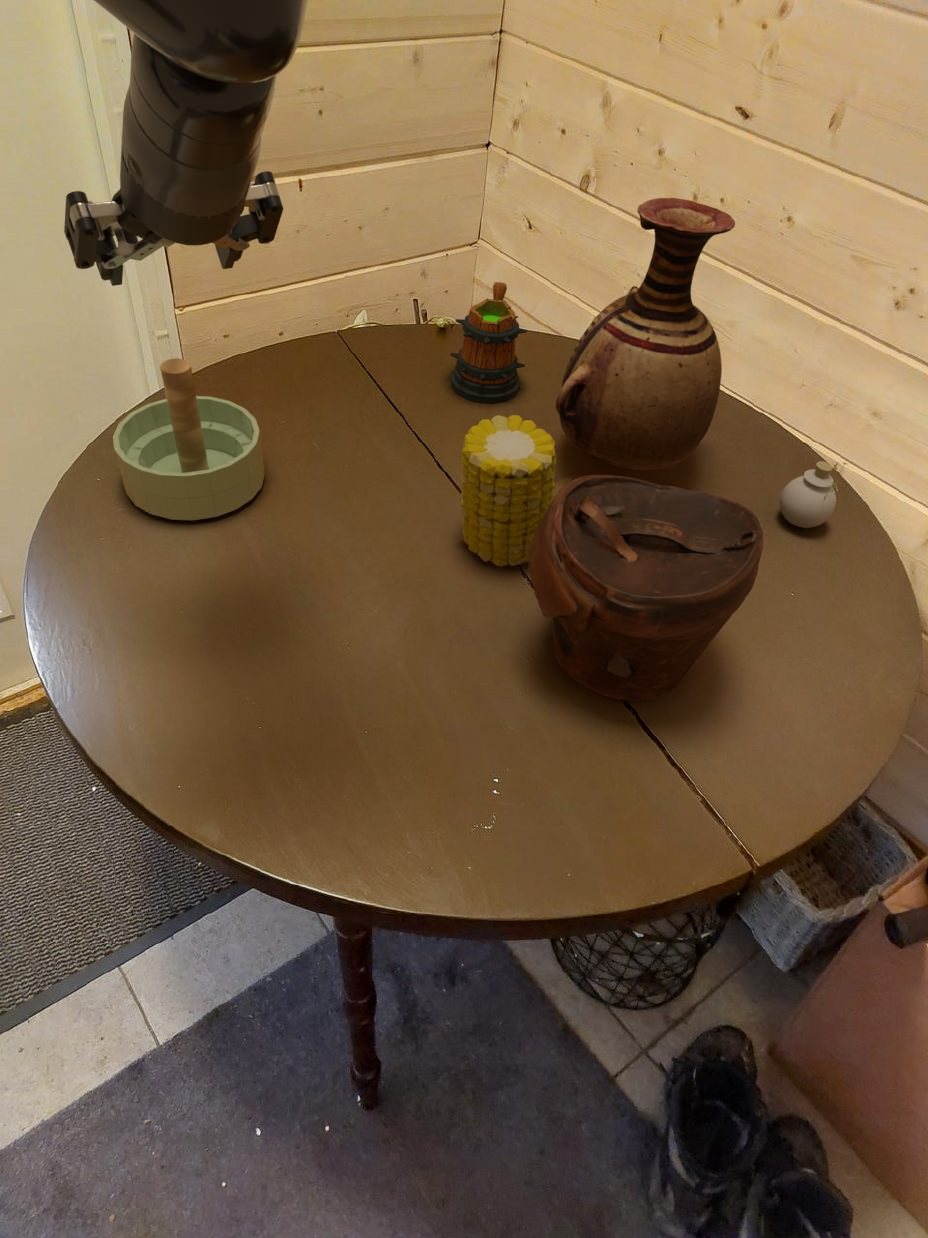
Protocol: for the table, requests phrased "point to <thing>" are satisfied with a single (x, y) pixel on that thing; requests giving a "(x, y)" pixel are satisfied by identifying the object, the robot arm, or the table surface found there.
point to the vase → (649, 354)
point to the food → (505, 487)
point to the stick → (184, 414)
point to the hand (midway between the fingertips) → (168, 264)
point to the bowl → (157, 468)
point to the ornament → (810, 497)
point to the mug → (488, 351)
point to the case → (639, 579)
